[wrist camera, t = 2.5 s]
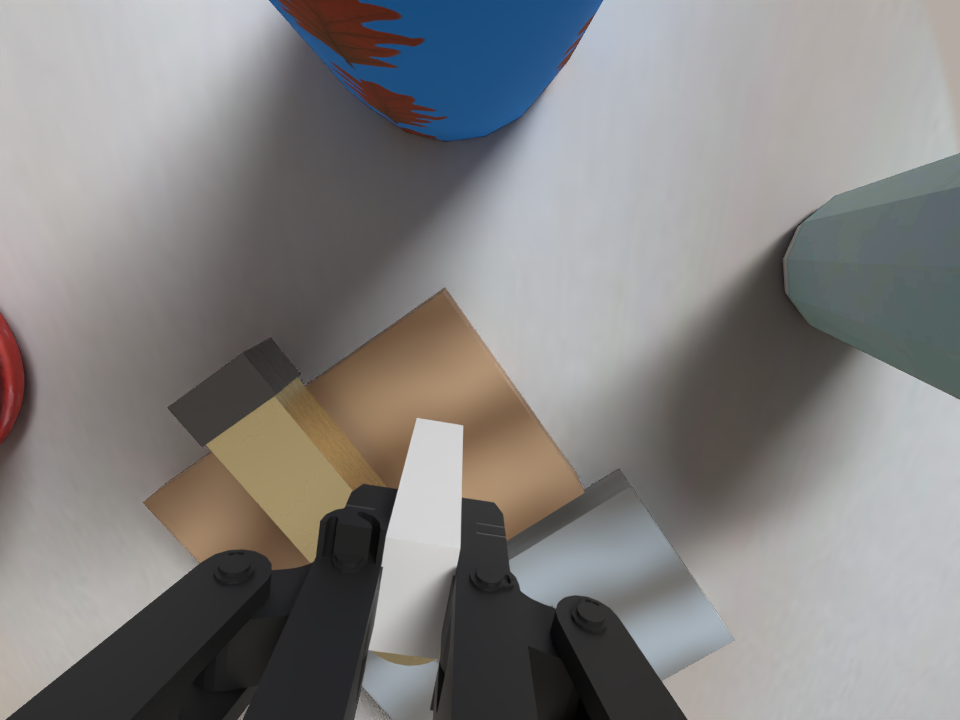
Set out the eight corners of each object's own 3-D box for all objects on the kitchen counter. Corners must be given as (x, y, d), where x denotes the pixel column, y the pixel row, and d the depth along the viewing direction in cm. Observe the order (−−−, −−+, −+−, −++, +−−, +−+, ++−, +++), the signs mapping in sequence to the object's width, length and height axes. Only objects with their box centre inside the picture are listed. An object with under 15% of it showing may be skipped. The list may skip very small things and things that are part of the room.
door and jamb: (718, 613, 30) (765, 687, 25) (433, 773, 33) (427, 868, 28) (479, 263, 25) (481, 271, 20) (165, 483, 28) (100, 537, 23)
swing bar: (479, 582, 26) (480, 633, 23) (408, 626, 27) (399, 682, 23) (279, 332, 23) (247, 349, 20) (202, 387, 24) (159, 413, 20)
